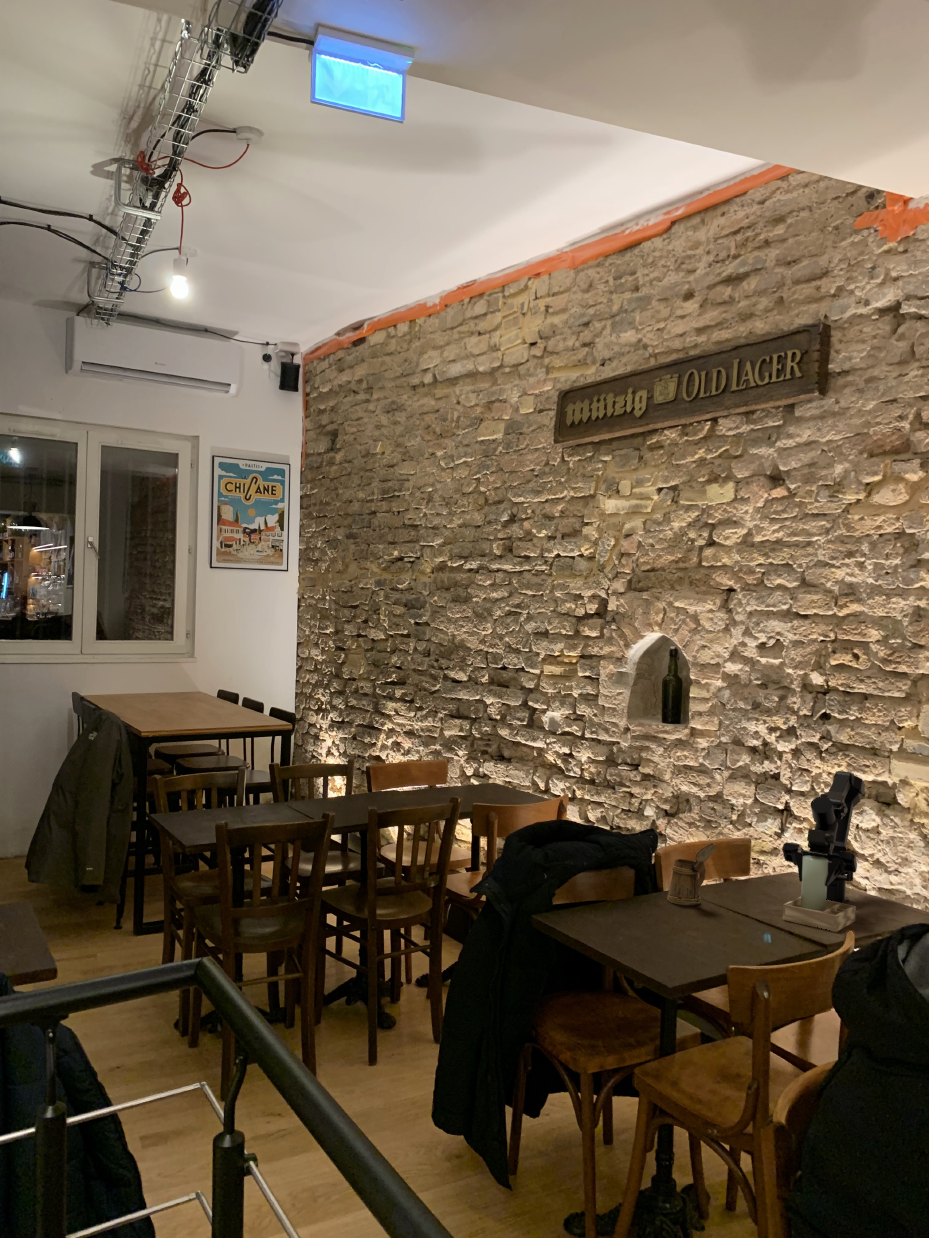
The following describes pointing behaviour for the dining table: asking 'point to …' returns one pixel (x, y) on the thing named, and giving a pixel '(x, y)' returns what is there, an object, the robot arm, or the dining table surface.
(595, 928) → the dining table surface
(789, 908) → the tray
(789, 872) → the dining table surface
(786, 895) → the dining table surface
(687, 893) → the wooden mug
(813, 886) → the pale green cylinder
